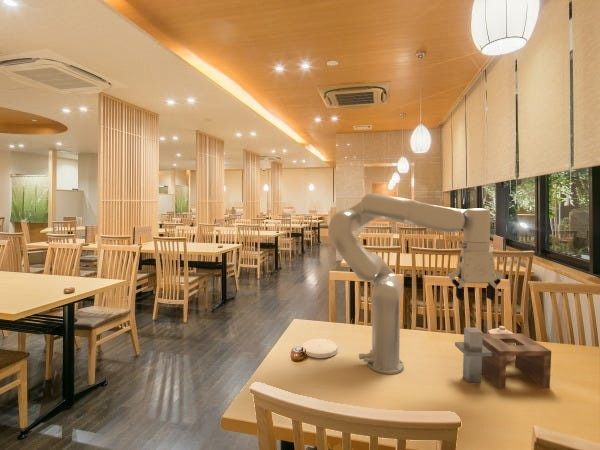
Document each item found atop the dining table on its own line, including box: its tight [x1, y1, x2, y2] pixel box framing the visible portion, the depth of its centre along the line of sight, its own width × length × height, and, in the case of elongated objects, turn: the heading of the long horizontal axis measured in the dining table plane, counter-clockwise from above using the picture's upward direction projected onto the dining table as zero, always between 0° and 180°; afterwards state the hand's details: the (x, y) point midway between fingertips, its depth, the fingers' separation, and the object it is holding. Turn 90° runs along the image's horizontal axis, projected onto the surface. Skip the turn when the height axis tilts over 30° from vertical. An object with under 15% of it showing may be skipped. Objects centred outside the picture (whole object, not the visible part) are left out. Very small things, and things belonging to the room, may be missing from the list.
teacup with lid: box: [487, 325, 516, 363], centre depth 128 cm, size 12×9×12 cm
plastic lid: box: [301, 338, 339, 359], centre depth 133 cm, size 14×14×2 cm
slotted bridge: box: [481, 333, 552, 389], centre depth 112 cm, size 16×14×12 cm
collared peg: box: [454, 327, 492, 384], centre depth 110 cm, size 8×8×17 cm
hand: (475, 299), depth 109 cm, fingers open, 9 cm apart
